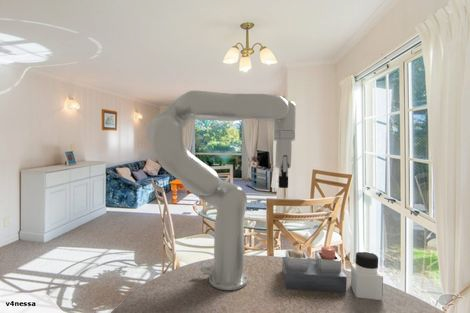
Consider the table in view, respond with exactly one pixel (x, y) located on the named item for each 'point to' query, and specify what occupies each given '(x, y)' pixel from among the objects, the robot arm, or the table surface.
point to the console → (313, 273)
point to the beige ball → (296, 253)
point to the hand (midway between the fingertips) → (283, 187)
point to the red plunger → (327, 253)
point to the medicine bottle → (366, 276)
